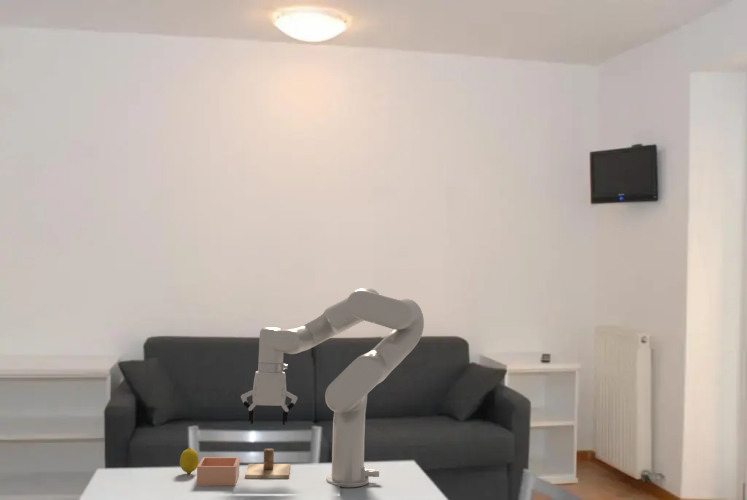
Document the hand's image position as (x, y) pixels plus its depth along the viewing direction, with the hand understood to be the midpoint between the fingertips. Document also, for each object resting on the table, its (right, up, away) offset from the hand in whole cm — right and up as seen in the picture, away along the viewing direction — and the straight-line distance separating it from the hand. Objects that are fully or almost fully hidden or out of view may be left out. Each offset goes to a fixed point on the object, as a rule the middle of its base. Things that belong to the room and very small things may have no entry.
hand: (268, 423), depth 244 cm
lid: (0, -15, 0) cm, 15 cm away
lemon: (-24, -15, -2) cm, 28 cm away
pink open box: (-13, -15, -10) cm, 22 cm away
